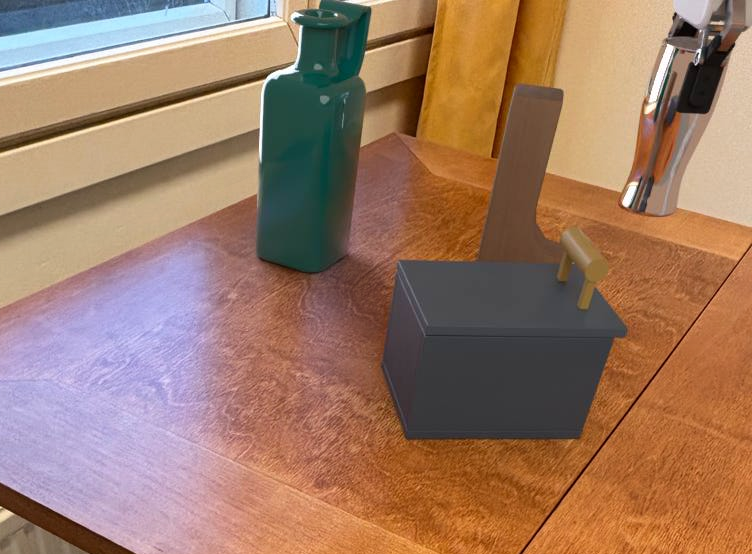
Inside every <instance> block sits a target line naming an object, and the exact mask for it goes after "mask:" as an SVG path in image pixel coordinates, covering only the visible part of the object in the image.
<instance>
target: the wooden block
mask: <svg viewBox="0 0 752 554" xmlns="http://www.w3.org/2000/svg"><path fill="white" fill-rule="evenodd" d="M564 93H565V92H564V90H563V89H562V88H559V87H558V88H557V87H551V86H542V85H534V84H527V83H517V84H515V86H514V87H513V92H512V95H511V98H510V103H509V108H508V113H507V116H506V117H507V118H506V122H505V127H504V132H503V137H502V141H501V146H500V150H499V154H498V160H497V165H496V169H495V173H494V177H493V182H492V187H491V192H490V196H489V200H488V205H487V210H486V215H485V220H484V224H483V229H482V233H481V238H480V243H479V248H478V251H477V255H476V260H475V262H517V263H560V264H561V261H562V257H563V254H564V249H563V248H562V247H561V245H560V242H557V241H555V240H552V239H550V238H547V237H546V236H545V234H544V232H543V231H542V230H541V228H540V226H539V225H538V223H537V209H538V204H539V199H540V195H541V192H542V187H543V184H544V180H545V175H546V172H547V167H548V165H549V164H548V163H549V160H550V156H551V151H552V148H553V144H554V141H555V136H556V133H557V129H558V124H559V121H560V117H561V113H562V109H563V105H564V97H565V94H564Z"/></svg>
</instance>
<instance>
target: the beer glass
mask: <svg viewBox="0 0 752 554" xmlns="http://www.w3.org/2000/svg"><path fill="white" fill-rule="evenodd" d="M697 40H698V37H684V36H678V37H668V38H667V37H665V38H663V39H662V40H661V45H660V47H659V51H658V53H657V55H656V58H655V61H654V64H653V66H652V70H651V71H650V75H649V78H648V81H647V85H646V87H645V91H644V95H643V100H642V104H641V108H640V115H639V120H638V127H637V135H636V141H635V142H636V143H635V150H634V155H633V156H634V157H633V162H632V164H631V169H630V172H629V175H628V177H627V180H626V181H625V184H624V186H623V188H622V191H620V192H621V193H620V195H619V197H618V199H617V205H618V207H619V208H621V210H624V211H625V212H628V213H631V214H633V215H637V216H642V217H647V218H649V217H650V218H665V217H670V216H672V215H674V214H675V212H676V211H677V206H678V201H679V196H680V195H679V194H680V189H681V184H682V181H683V178H684V175H685V172H686V170H687V167H688V165H689V163H690V161H691V159H692V157H693V155H694V153H695V151H696V149H697V147H698V145H699V143H700V141H701V139H702V137H703V135H704V134H705V132H706V129H707V128H708V125H709V124H710V121H711V119H712V117H713V114H714V112H715V109H716V107H717V103H718V101H719V99H720V95H721V93H722V89H723V85H724V83H725V79H726V75H727V71H728V68H729V63H730V60H731V56H732V54H733V53H732V52H733V50H734V48H733V49H732V51H731V52H730V55H729V60H728V63H727V65H726V66H725V67H724V70H723V73H722V76H721V79H720V82H719V84H718V87H717V90H716V93H715V96H714V99H713V102H712V105H711V108H710V111H709V112H708V113H707V114H691V113H678V112H677V111H676V110H675V106H676V103H677V100H678V97H679V94H680V91H681V87H682V84H683V81H684V78H685V75H686V71H687V68H688V65H689V63H691V64H694V58H695V52H696V46H697ZM711 41H712V39H711V38H710V39H709V38H708V43H707V46H708V45H709V44H710V42H711Z"/></svg>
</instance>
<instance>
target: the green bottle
mask: <svg viewBox="0 0 752 554" xmlns="http://www.w3.org/2000/svg"><path fill="white" fill-rule="evenodd" d="M372 10H373V9H372V7H371V6H369V5H364V4H359V3H353V2H349V1H348V2H347V1H342V0H320V2H319V4H318V8H305V9H303V8H302V9H298V10H295V11H293V13H292V14H291V15H290V20H291V22H293V23H294V24H295V25H297V26H299V32H298V33H299V36H298V50H297V51H298V52H297V56H296V60H295V62H294V63H293V64H291V65H288V66H286V67H283V68H280V69H277V70H275V71H273V72H272V73H270V74H269V75H268V76H267V77H266V78H265V81H264V83H263V85H262V89H261V96H260V97H261V99H260V120H259V121H260V123H259V147H258V169H257V171H258V172H257V194H256V195H257V196H256V217H255V239H254V241H255V242H254V243H255V244H254V251H255V254H256V255H257V257H258V258H260V259H261V260H264V261H267V262H270V263H273V264H275V265H279V266H283V267H286V268H289V269H292V270H295V271H298V272H301V273H309V274H310V273H311V274H312V273H319V272H323V271H325V270H326V269H327V268H329V267H330V266H332V265H334V264H335V263H336V262H338V261H340V260H341V259H342V258H344V257H345V256H347V254H348V252H349V249H350V247H349V246H350V239H351V230H352V222H353V214H354V213H353V212H354V205H355V195H356V188H357V179H358V170H359V162H360V155H361V144H362V137H363V129H364V128H363V127H364V119H365V110H366V101H367V88H366V83H365V81H364V80H363V78H362V77H360V76H359V75H360V74H361V69H362V67H363V64H364V60H365V55H366V49H367V44H368V37H369V31H370V24H371V18H372Z"/></svg>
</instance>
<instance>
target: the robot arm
mask: <svg viewBox="0 0 752 554" xmlns="http://www.w3.org/2000/svg"><path fill="white" fill-rule="evenodd" d="M672 3H673V5H672V6H673V7H672V8H673V10H674V12H673V15H672V17H671V19H672V24H671V27H670V28H669V31H668V34H667V36H666V38H668V37H678V36H684V37H698V40H697V46H696V52H695V58H694V64H691V63H689V65H688V68H687V71H686V75H685V78H684V81H683V84H682V87H681V91H680V94H679V97H678V100H677V103H676V106H675V110H676V111H677V112H678V113H691V114H707V113H708V112H709V111H710V108H711V105H712V102H713V99H714V96H715V93H716V90H717V87H718V84H719V82H720V79H721V76H722V73H723V70H724V67H725V66H726V65H727V63H728V60H729V55H730V52H731V51H732V52H733V50H734V48H735V47H736V45H737V41H738V39H739V37H740V36H741V34H742V33H745V32H746V31H748V30H749V29H750V28H751V27H752V0H673V2H672ZM720 22H722V23H723V24H713V23H720ZM709 37H713V38H712V39H711V40H712V41H711V42H710V44H709V45H708V46H707V43H708V39H709ZM732 49H733V50H732ZM729 61H730V60H729Z"/></svg>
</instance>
